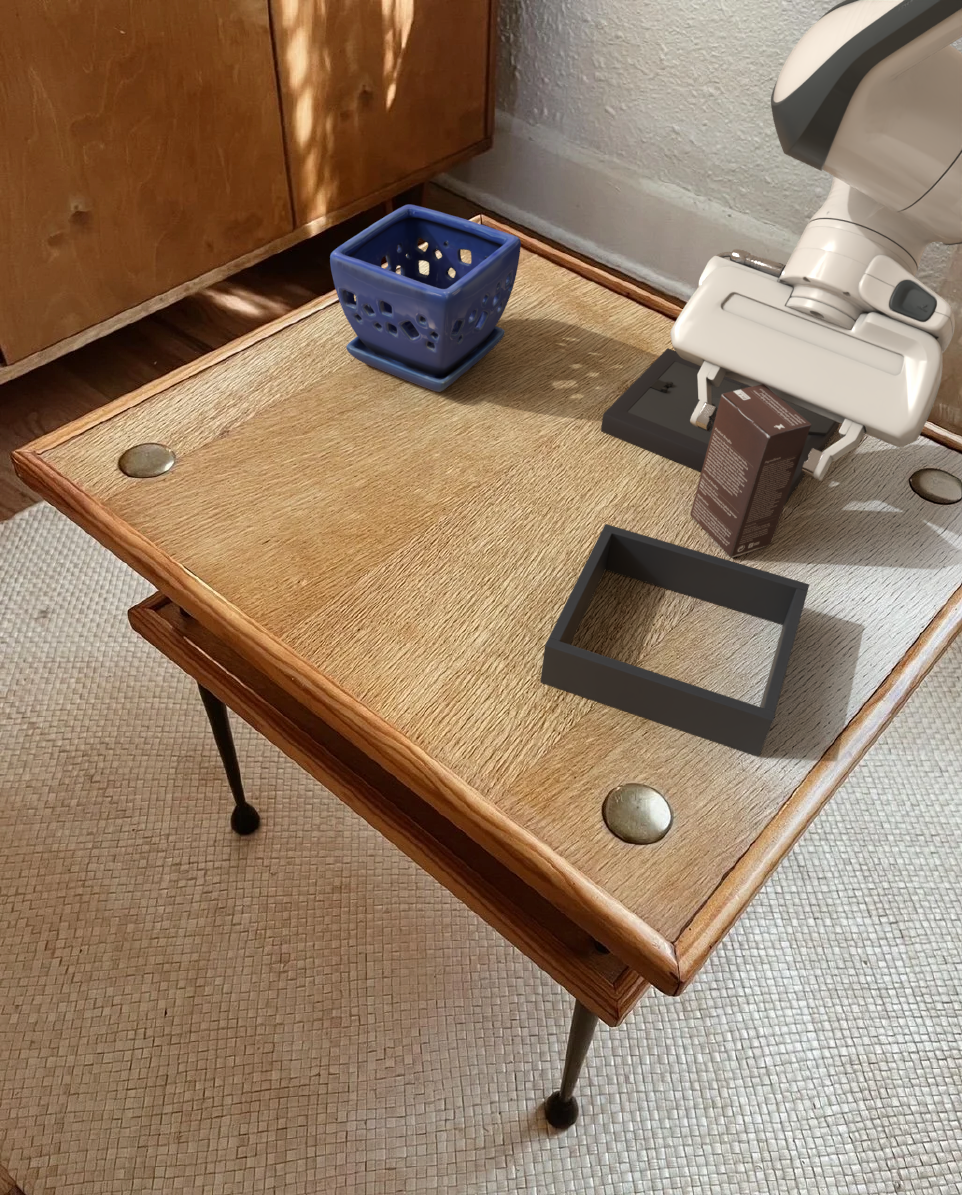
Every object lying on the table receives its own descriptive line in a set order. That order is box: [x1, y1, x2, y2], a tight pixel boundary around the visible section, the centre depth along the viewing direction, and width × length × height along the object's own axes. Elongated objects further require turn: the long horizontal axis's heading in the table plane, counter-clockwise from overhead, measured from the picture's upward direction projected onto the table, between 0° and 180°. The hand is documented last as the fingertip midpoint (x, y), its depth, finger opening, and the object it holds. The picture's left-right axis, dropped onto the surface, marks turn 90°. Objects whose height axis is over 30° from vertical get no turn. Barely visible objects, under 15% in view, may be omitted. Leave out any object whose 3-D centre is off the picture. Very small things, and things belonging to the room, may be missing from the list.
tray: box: [539, 523, 810, 757], centre depth 73 cm, size 16×14×4 cm
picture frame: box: [600, 347, 841, 506], centre depth 93 cm, size 13×2×18 cm
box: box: [690, 384, 811, 558], centre depth 80 cm, size 6×4×12 cm
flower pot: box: [329, 204, 522, 393], centre depth 96 cm, size 13×13×12 cm
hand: (753, 450), depth 79 cm, fingers open, 8 cm apart
